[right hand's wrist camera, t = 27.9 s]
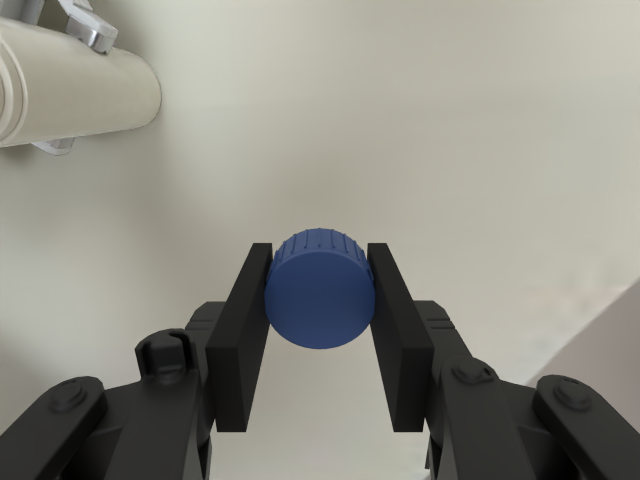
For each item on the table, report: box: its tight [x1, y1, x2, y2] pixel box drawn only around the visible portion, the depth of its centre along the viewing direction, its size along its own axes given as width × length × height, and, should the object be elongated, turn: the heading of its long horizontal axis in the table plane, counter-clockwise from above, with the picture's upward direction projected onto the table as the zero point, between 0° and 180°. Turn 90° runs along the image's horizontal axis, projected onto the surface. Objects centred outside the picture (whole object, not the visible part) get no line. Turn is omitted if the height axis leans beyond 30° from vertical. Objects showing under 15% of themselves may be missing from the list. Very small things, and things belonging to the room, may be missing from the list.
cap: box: [264, 228, 375, 349], centre depth 14 cm, size 4×4×2 cm
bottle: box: [0, 15, 161, 148], centre depth 18 cm, size 6×6×19 cm
